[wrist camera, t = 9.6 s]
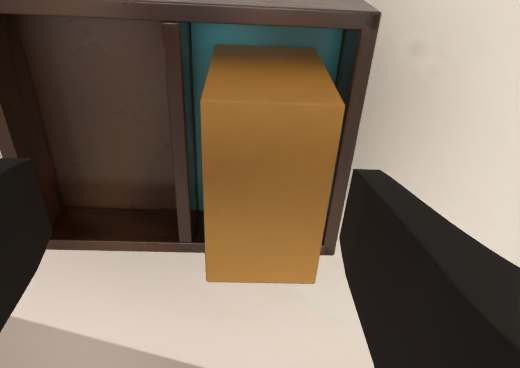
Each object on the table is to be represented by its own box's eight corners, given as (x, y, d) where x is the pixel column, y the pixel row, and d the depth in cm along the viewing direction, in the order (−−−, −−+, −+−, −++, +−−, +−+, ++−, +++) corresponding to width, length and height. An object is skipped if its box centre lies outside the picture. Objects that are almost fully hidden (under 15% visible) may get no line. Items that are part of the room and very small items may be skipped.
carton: (217, 190, 20) (205, 283, 15) (215, 43, 16) (199, 99, 11) (298, 193, 20) (315, 284, 15) (315, 48, 16) (345, 105, 11)
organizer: (59, 210, 21) (33, 249, 18) (-5, -21, 15) (-55, -9, 13) (324, 216, 22) (334, 255, 19) (361, -3, 16) (382, 11, 13)
